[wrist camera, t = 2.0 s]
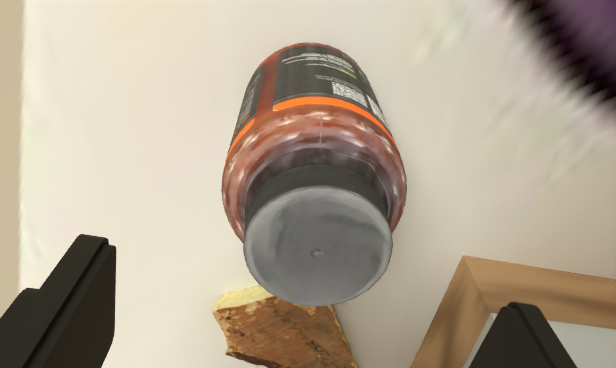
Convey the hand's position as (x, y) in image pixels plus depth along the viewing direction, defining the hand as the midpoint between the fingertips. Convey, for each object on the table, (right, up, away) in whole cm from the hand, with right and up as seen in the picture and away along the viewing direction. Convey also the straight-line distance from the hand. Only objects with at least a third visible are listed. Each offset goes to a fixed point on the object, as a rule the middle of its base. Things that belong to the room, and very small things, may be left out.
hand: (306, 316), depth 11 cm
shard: (0, -5, +19) cm, 19 cm away
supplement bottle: (0, +7, +11) cm, 13 cm away
